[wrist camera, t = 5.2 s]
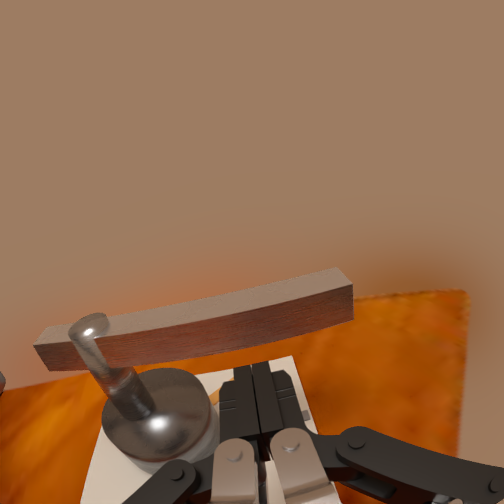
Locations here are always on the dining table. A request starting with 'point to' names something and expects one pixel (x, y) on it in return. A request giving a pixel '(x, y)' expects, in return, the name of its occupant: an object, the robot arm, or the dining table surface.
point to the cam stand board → (131, 477)
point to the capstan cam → (185, 347)
